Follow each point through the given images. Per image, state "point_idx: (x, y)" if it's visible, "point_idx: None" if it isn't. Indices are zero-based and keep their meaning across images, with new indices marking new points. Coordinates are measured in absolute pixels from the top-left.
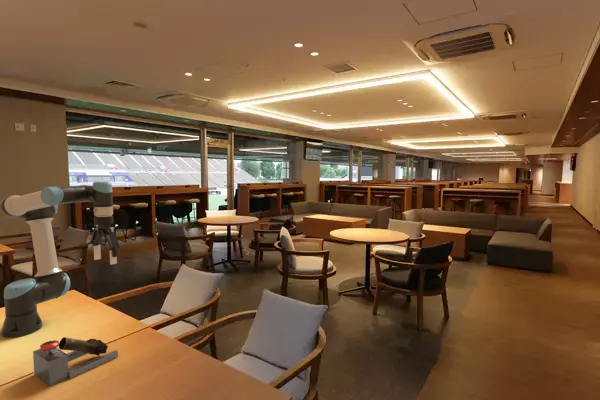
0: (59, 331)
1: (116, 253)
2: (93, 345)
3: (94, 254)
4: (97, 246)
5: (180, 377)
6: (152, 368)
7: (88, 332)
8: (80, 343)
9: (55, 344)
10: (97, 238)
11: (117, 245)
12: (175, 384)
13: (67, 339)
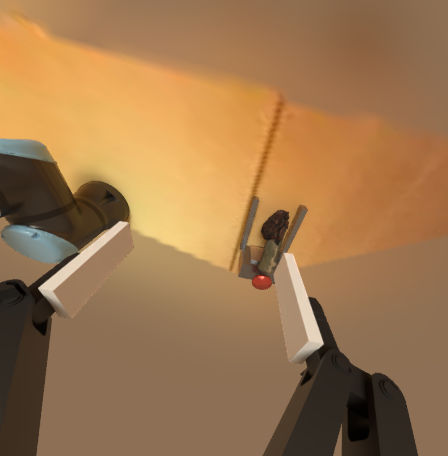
0: (152, 186)
1: (325, 321)
2: (283, 235)
3: (111, 268)
4: (67, 301)
5: (434, 212)
6: (377, 209)
7: (194, 170)
8: (278, 254)
9: (269, 282)
10: (37, 429)
11: (383, 416)
12: (430, 225)
13: (271, 271)
